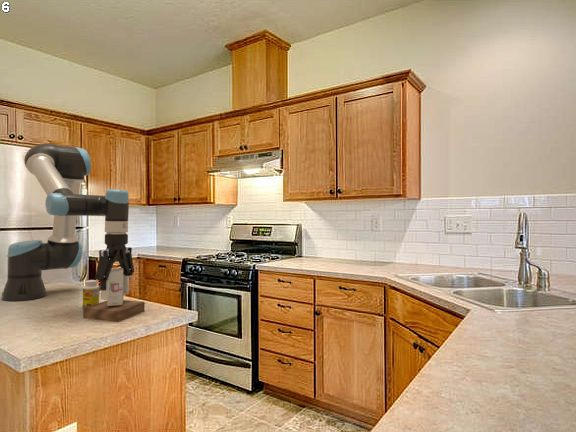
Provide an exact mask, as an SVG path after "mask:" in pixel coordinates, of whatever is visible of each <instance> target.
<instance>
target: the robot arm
mask: <svg viewBox="0 0 576 432" xmlns="http://www.w3.org/2000/svg"><path fill="white" fill-rule="evenodd" d="M23 159H24V160H23V161H24V165H25V168H26V169H27V171H28V172H29V173H30V174H32V175H34V176H35V178H36V180H37V181H38V183H39V185H40V186H41V188H42V189H43V192H44V193H45V194H46V198H45V209H46V212H47V214H48V215H50V216H51V215H52V216H53V223H52V233H51V235H50V236H48V237H47V241H46V242H43V241H42V239H41V240H40V239H35V240H25V241H24V240H23V241H18V242H13V243H12V244H10V245H9V246H8V250H7V255H6V257H7V275H6V276H7V277H6V278H7V280H6V283H5V285H4V288H3V290H2V293H1V300H2V301H8V302H19V301H20V302H21V301H31V300H36V299H40V298H44V297H46V296H47V289H46V288H45V284H44V281H43V278H42V273H43V272H42V271H48V270H49V271H51V270H61V269H64V270H67V269H72V268H75V267H77V266H78V265H79V263H80V262H81V260H82V257H83V245H82V243H81V242H80V241H79V238H77V236H76V226H77V216H80V217H81V216H82V217H85V216H86V217H87V216H89V217H104V232H105V234H104V244H105V245H106V248H105V249H103V250H102V249H100V250H99V251H98V254H99V257H98V262H97V266H96V271H95V276H94V280H97V281H99V291H100V300H101V301H102V300H104V301H107V300H109V280H107V279H108V277H109V274H110V271H111V269H113V266H114V264H115V262H116V261H118V263H119V268H123V278H124V291H123V295H124V294H125V295H129V294H130V283H131V282H130V281H131V280H130V278H131V276H133V275H134V273H135V268H134V267H135V266H134V261H133V255H132V251H133V249H132V247H129V246H128V247H127V246H126V245H128V243H129V234H128V232H129V206H130V199H129V198H130V197H129V195H130V194H129V191H128V190H125V189H113V188H112V189H106V191H105V195H101V194H100V195H98V194H97V195H95V194H80V186H81V185H80V184H81V183H82V182H84V181H85V177H86V176H89V175H90V174H91V172H92V171H91V170H92V161H91V156H90V154H89V152H88V150H86V149H84V148H81V147H76V146H68V145H62V144H55V143H54V144H52V143H49V142H47V143H46V142H45V143H41V144H40V143H39V144H36V145H34V146H32V147H30V148H29V149H28V151H27V152H26V153H25V156H24V158H23Z"/></svg>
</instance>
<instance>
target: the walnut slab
mask: <svg viewBox="0 0 576 432" xmlns="http://www.w3.org/2000/svg"><path fill="white" fill-rule="evenodd" d="M145 304H146V303H145V301H139V300H138V301H137V300H127V299H123V304H122V305H112V306H107V300H104V301H101V302H99V303H98V304H95V305H91V306H88V307H85V308H83V307H82V308H83V316H82V318H83V319H88V320H95V321H104V322H105V321H106V322H107V321H108V322H114V323H120V322H122V321H125V320H128V319H129V318H132V317H135V316H137V315H139V314H142V313H144V312H145V309H146V305H145Z"/></svg>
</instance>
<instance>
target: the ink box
mask: <svg viewBox="0 0 576 432" xmlns="http://www.w3.org/2000/svg"><path fill="white" fill-rule="evenodd" d="M107 280H109V300H106V301H107V306H112V305H122V304H123V300H124V294H123V291H124V278H123V268H121V267H117V268H112V269H111V271H110V274H109V277H108V279H107Z"/></svg>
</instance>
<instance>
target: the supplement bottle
mask: <svg viewBox="0 0 576 432" xmlns="http://www.w3.org/2000/svg"><path fill="white" fill-rule="evenodd" d="M98 303H100V285H98V280H97V279H89V280H85V282H84V286H83V287H82V308H85V307H88V306H91V305H95V304H98Z"/></svg>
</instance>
